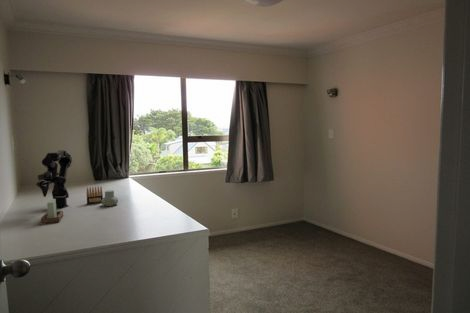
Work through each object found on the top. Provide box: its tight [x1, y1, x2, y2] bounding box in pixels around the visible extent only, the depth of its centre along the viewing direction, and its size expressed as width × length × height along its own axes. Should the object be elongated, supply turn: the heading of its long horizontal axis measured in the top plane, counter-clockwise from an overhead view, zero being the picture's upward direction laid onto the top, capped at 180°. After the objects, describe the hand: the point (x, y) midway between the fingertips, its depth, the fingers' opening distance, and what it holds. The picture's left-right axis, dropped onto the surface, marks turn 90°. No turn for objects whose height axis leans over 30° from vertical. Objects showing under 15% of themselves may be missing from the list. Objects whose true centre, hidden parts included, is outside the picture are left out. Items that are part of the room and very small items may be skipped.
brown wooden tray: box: [40, 210, 64, 225], centre depth 192 cm, size 16×9×3 cm, turn 20°
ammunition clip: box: [86, 185, 104, 205], centre depth 234 cm, size 11×2×12 cm, turn 114°
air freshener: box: [100, 189, 119, 207], centre depth 227 cm, size 11×8×10 cm
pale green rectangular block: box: [46, 199, 57, 218], centre depth 192 cm, size 9×3×10 cm, turn 20°
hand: (50, 195), depth 204 cm, fingers open, 9 cm apart
